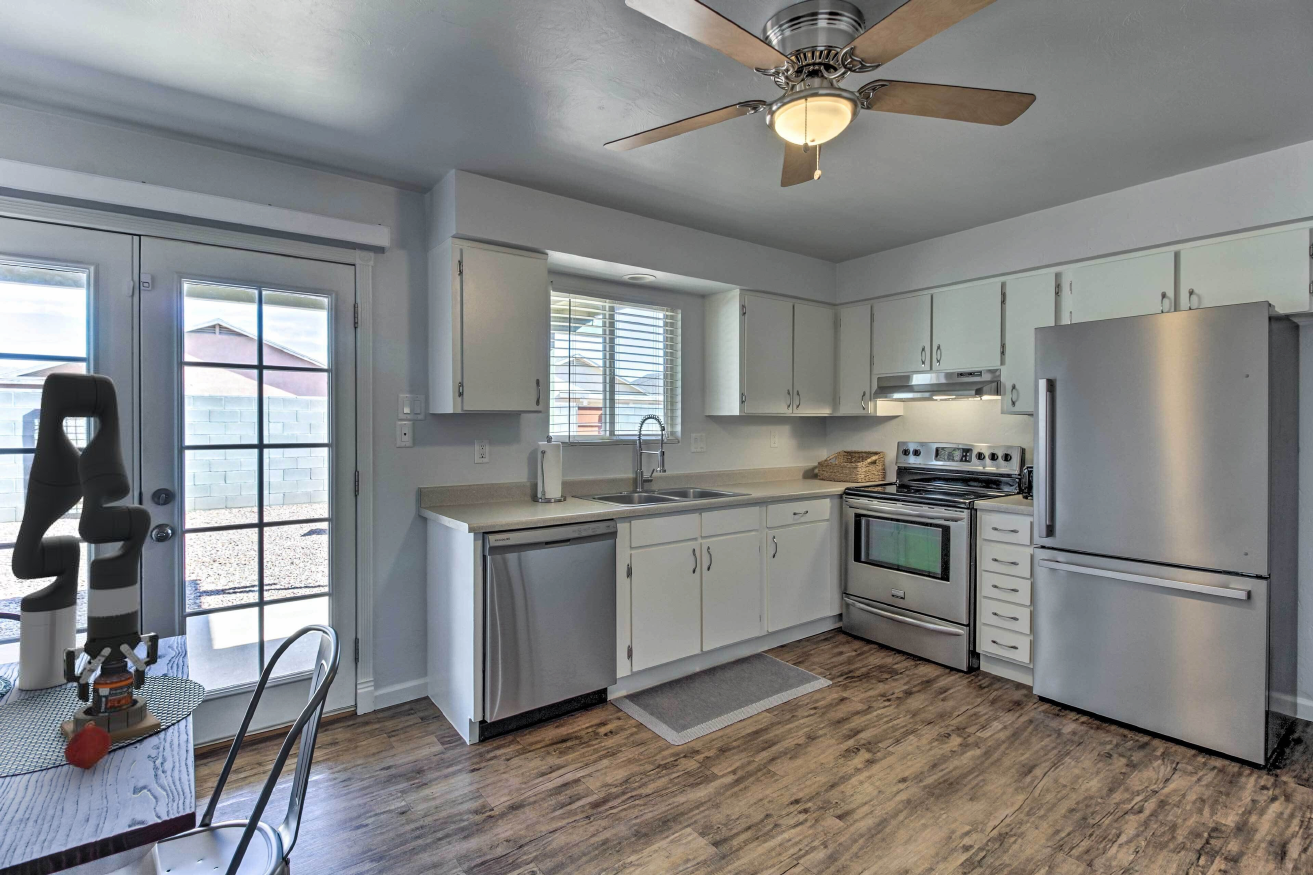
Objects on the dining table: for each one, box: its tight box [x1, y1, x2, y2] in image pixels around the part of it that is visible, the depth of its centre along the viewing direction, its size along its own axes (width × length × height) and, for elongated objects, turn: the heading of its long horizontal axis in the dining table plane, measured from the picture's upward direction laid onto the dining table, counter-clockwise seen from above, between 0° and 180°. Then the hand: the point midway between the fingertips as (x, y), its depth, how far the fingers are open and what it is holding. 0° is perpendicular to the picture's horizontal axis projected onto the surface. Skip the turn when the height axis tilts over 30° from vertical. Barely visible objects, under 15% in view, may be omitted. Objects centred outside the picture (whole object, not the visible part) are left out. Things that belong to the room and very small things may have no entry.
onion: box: [64, 721, 112, 770], centre depth 106 cm, size 6×6×8 cm
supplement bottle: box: [91, 659, 134, 716], centre depth 121 cm, size 6×6×11 cm
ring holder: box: [59, 695, 162, 745], centre depth 120 cm, size 14×12×4 cm
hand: (111, 694), depth 120 cm, fingers open, 7 cm apart
